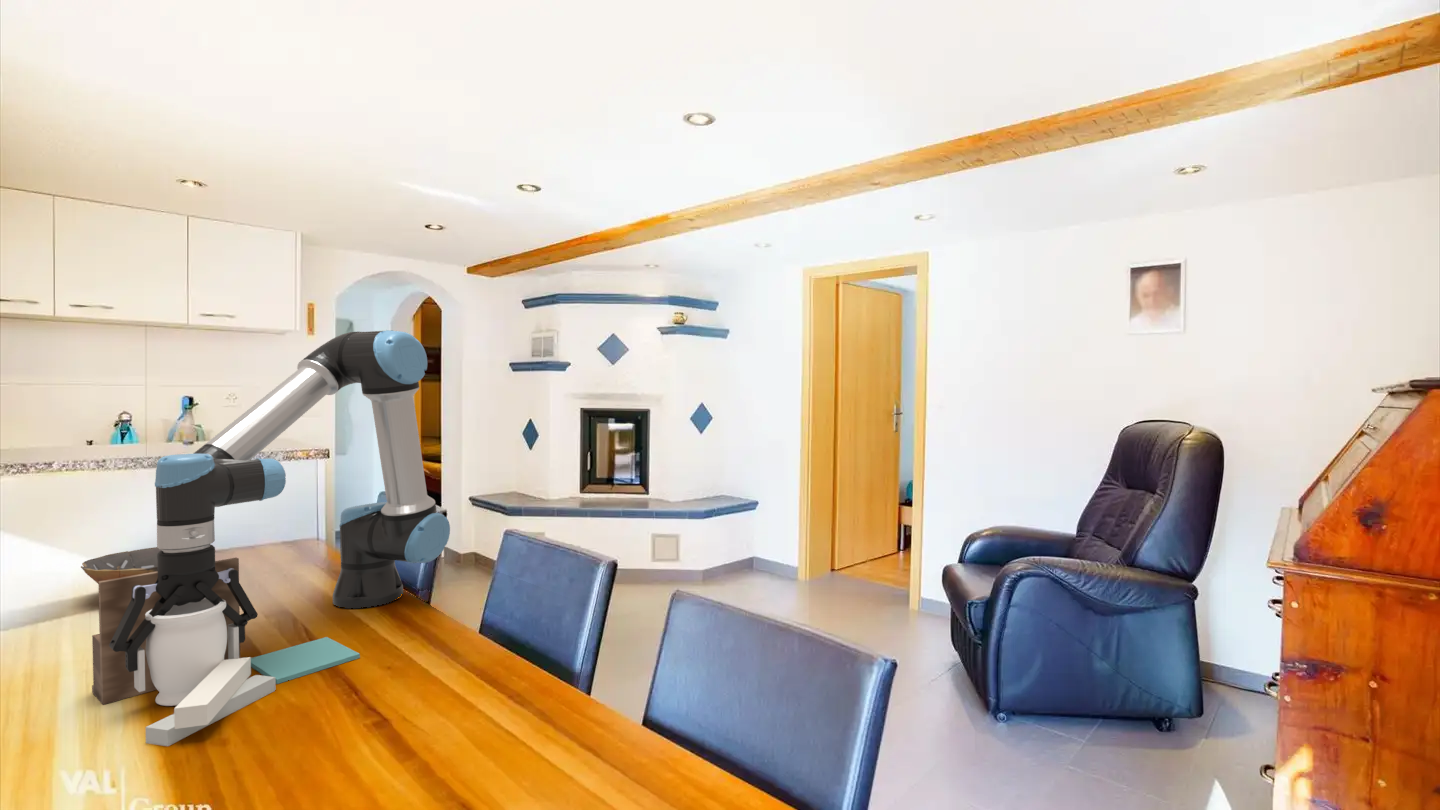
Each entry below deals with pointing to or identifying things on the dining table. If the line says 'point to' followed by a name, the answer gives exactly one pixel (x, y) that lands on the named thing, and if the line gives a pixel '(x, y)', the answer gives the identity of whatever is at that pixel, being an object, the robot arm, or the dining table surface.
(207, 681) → the offcut top
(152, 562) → the bowl
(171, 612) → the jar
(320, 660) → the mat
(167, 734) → the offcut low
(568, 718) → the dining table surface
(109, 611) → the wood grain panel
